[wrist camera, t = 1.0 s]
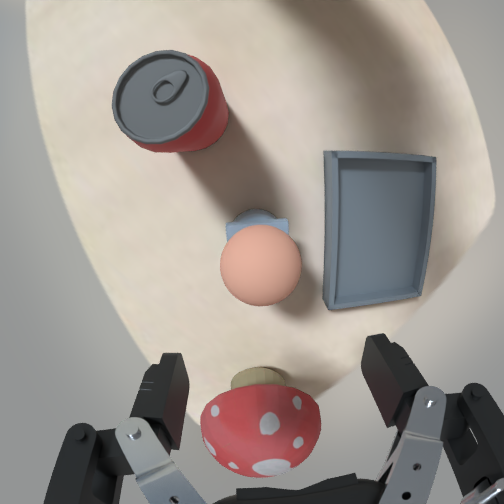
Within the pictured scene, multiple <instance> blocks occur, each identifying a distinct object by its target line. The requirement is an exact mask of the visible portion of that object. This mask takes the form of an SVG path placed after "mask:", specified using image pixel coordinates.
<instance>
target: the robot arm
mask: <svg viewBox="0 0 504 504" xmlns="http://www.w3.org/2000/svg"><path fill="white" fill-rule="evenodd" d="M361 369H362V373H363V376H364V378H365V380H366V382H367V384H368V387H369V388H370V391H371V393H372V395H373V397H374V400H375V402H376V404H377V406H378V408H379V411H380V413H381V415H382V417H383V420H384V422H385V424H386V426H387V428H388V427H391V426H394V425H396V427H397V429H398V430H397V432H396V434H395V437H394V440H393V442H392V445H391V448H390V450H389V453H388V455H387V458H386V460H385V462H384V465H383V467H382V469H381V471H380V473H379V474H378V476H377V478H376V480H375V481H374V480H369V479H357V477H356V474H355V473H352V474H349V475H344V476H339V477H335V478H330V479H327V480H324V481H321V482H319V483H317V484H314V485H312V486H309V487H306V488H304V489H301V490H287V489H277V488H269V487H262V488H242V489H241V488H238V489H236V495H233V496H229V497H226V498H224V499H221V500H219V501H217V502H215V503H213V504H426V502H427V500H428V497H429V494H430V491H431V488H432V485H433V481H434V478H435V475H436V471H437V468H438V464H439V460H440V456H441V452H442V447H444V450H445V452H446V454H447V457H448V459H449V462H450V464H451V466H452V469H453V471H454V474H455V476H456V479H457V482H458V484H459V487H460V489H461V492H462V495H463V499H462V501H461V503H460V504H504V415H503V413H502V412H501V410H500V409H499V407H498V406H497V404H496V402H495V401H494V399H493V398H492V396H491V395H490V393H489V392H488V391H487V389H486V388H485V387H484V386H483V385H481V384H478V383H470V384H468V385H466V386H465V387H464V389H463V391H462V393H453V394H444V392H443V391H442V390H441V389H439V388H437V387H434V386H429V385H428V384H427V382H426V381H425V379H424V378H423V376H422V375H421V373H420V372H419V370H418V369H417V367H416V366H415V364H413V361H412V360H411V358H410V357H409V355H408V354H407V352H406V351H405V350H404V348H403V347H401V346H399V345H398V344H397V343H395V342H393V343H390V341H389V340H388V338H387V337H386V335H385V334H383V333H382V334H377V335H371V336H368V337H367V338H366V342H365V347H364V351H363V356H362V361H361ZM188 394H189V378H188V374H187V371H186V368H185V364H184V361H183V357H182V354H181V353H163V354H162V357H161V360H160V363H159V364H152V365H151V366H150V368H149V369H148V370H147V371H146V372H145V374H144V377H143V380H142V383H141V385H140V390H139V391H138V394H137V397H136V400H135V403H134V405H133V408H132V411H131V414H130V417H129V418H127V419H125V420H123V421H121V422H120V423H119V425H118V426H117V428H115V429H108V430H100V431H96V430H95V429H94V428H93V427H92V426H91V425H89V424H86V423H78V424H75V425H74V426H72V427H71V428H70V429H69V430H68V431H67V434H66V436H65V439H64V442H63V444H62V447H61V450H60V452H59V456H58V458H57V461H56V464H55V467H54V470H53V473H52V476H51V480H50V483H49V486H48V490H47V493H46V497H45V500H44V504H119V499H120V494H121V488H122V482H123V477H124V475H131V474H135V475H136V482H137V484H138V485H139V487H140V489H141V491H142V492H143V494H144V495H145V497H146V499H147V500H148V502H149V503H150V504H207V503H206V502H205V501H204V500H203V499H202V497H201V496H200V495H199V494H198V493H197V491H196V490H195V489H194V488H193V486H192V485H191V484H190V483H189V481H188V480H187V479H186V478H185V476H184V475H183V474H182V472H181V471H180V470H179V468H178V467H177V466H176V464H175V463H174V462H173V461H172V459H171V458H170V452H171V449H173V450H179V448H180V442H181V435H182V429H183V423H184V417H185V411H186V406H187V400H188ZM469 428H471V430H472V432H473V434H474V436H475V437H476V439H477V442H478V444H477V442H476V440H475V438H474V437H473V434H472V433H471V431H470V429H469Z"/></svg>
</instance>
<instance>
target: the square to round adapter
mask: <svg viewBox="0 0 504 504" xmlns="http://www.w3.org/2000/svg"><path fill="white" fill-rule="evenodd" d="M252 225H269V226H273V227H276V228H278V229H280V230H282V231H284V232H285V233H286V234H288V235H289V230H288V220H287V218H283V219H277V218H276V217H275V216H274V215H273V214H271V213H270V212H268V211H265V210H262V209H251V210H247V211H245V212H243V213H241V214H240V215H239V216H238V217H237V218H236V219H235V220H234V221H233V222H228V223H226V234H227V242H228V241H229V239H230V238H231V237H232V236H233V235H234V234H236V233H237V232H238V231H240V230H242V229H244V228H246V227H249V226H252Z"/></svg>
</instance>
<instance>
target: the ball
mask: <svg viewBox="0 0 504 504" xmlns="http://www.w3.org/2000/svg"><path fill="white" fill-rule="evenodd" d="M301 269H302V262H301V256H300V252H299V250H298V247H297V246H296V244H295V242H294V241H293V240H292V238H291V237H290V236H289V235H288V234H286V233H285V232H284V231H282V230H280V229H278V228H276V227H273V226H269V225H252V226H249V227H246V228H244V229H242V230H240V231H238V232H237V233H236V234H234V235H233V236H232V237H231V238H230V239H229V241H228V242H227V244H226V245H225V247H224V249H223V252H222V255H221V260H220V271H221V276H222V279H223V282H224V284H225V286H226V287H227V289H228V290H229V291H230V292H231V294H232V295H233V296H235V297H236V298H237V299H239V300H240V301H242V302H244V303H246V304H249V305H254V306H268V305H272V304H275V303H278V302H280V301H282V300H283V299H285V298H286V297H287V296H288V295H289V294H290V293H291V292H292V291H293V290H294V288H295V287H296V285H297V283H298V281H299V278H300V275H301Z"/></svg>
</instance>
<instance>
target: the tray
mask: <svg viewBox="0 0 504 504" xmlns="http://www.w3.org/2000/svg"><path fill="white" fill-rule="evenodd" d="M324 182H325V246H324V277H323V300H324V302H325V305H326V307H327V309H328V310H333V309H341V308H348V307H356V306H363V305H370V304H376V303H383V302H389V301H395V300H401V299H407V298H412V297H418V296H421V293H422V289H423V284H424V279H425V273H426V268H427V262H428V256H429V249H430V242H431V235H432V226H433V216H434V205H435V189H436V157H432V156H424V155H414V154H402V153H387V152H367V151H324Z"/></svg>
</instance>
